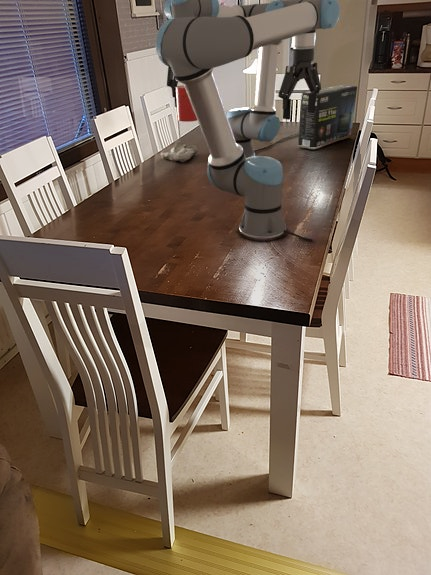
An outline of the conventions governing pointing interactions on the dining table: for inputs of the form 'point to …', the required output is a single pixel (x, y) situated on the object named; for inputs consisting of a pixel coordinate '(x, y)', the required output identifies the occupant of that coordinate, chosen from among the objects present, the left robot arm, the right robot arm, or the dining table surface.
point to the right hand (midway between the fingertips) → (299, 115)
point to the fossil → (179, 152)
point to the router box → (327, 115)
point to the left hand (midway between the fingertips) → (188, 106)
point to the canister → (184, 105)
